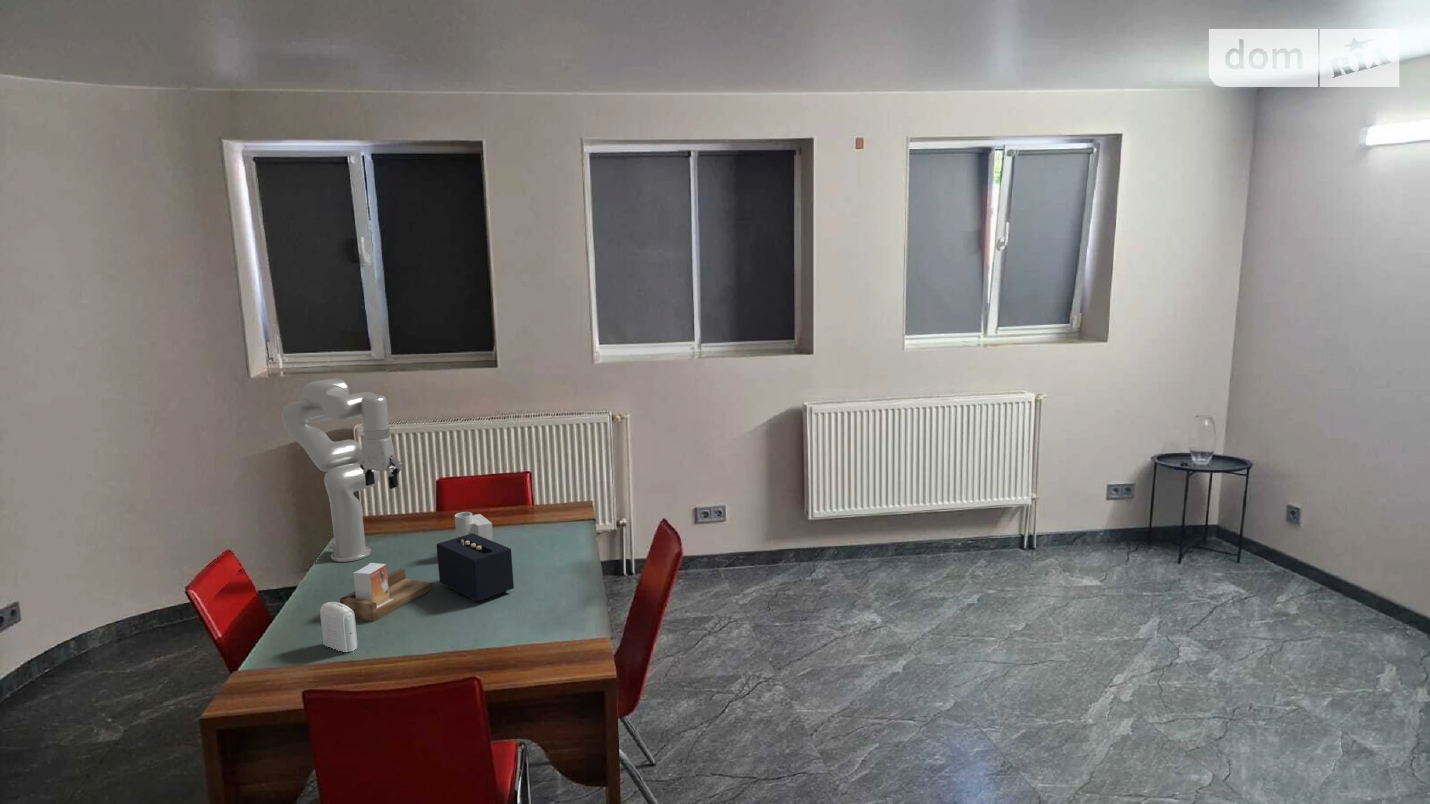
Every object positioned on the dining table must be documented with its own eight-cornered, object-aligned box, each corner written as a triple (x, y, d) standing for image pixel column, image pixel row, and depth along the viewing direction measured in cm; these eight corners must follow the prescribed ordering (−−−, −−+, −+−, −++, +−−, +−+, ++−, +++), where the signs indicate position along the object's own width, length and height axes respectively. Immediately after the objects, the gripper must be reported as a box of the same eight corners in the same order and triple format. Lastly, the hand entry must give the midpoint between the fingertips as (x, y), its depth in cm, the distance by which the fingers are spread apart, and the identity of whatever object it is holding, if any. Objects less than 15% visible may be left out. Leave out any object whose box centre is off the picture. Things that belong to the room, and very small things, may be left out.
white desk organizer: (494, 557, 280) (491, 514, 277) (452, 566, 272) (449, 523, 269) (482, 547, 290) (479, 506, 287) (441, 556, 282) (438, 513, 279)
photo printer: (360, 648, 217) (356, 604, 215) (346, 655, 214) (341, 610, 211) (335, 640, 222) (330, 596, 220) (321, 646, 219) (316, 602, 216)
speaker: (514, 593, 250) (511, 545, 248) (477, 606, 241) (473, 558, 238) (476, 575, 265) (473, 530, 262) (439, 587, 256) (435, 541, 253)
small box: (373, 608, 236) (369, 574, 234) (356, 607, 238) (352, 572, 236) (390, 597, 244) (387, 563, 242) (373, 595, 245) (370, 562, 243)
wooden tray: (341, 615, 237) (339, 598, 236) (402, 583, 259) (400, 568, 258) (373, 621, 233) (372, 604, 232) (432, 588, 255) (431, 573, 254)
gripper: (347, 434, 263) (352, 486, 266) (389, 438, 256) (394, 492, 259) (365, 429, 269) (370, 480, 273) (406, 433, 263) (411, 485, 266)
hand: (382, 486), depth 266 cm, fingers open, 9 cm apart
